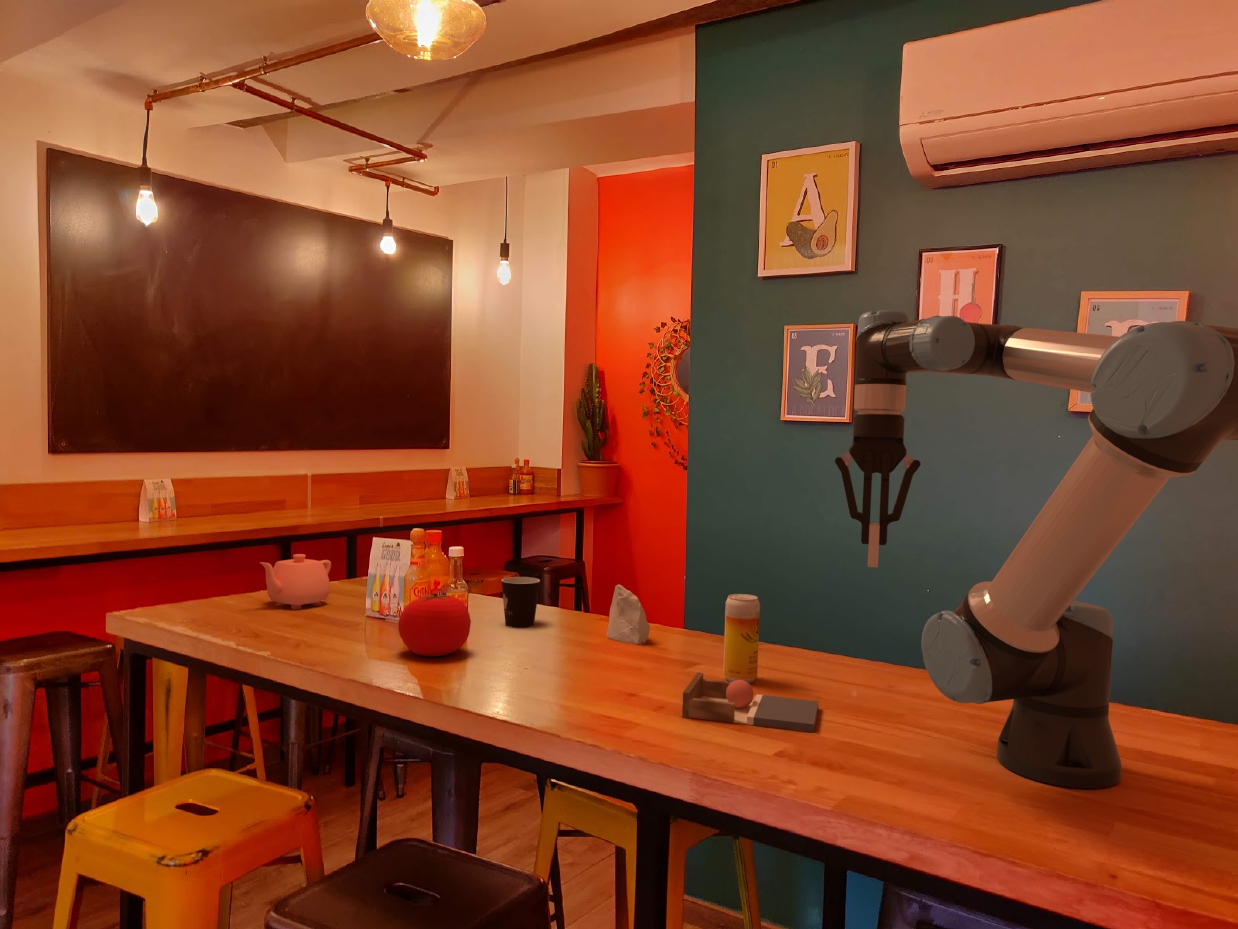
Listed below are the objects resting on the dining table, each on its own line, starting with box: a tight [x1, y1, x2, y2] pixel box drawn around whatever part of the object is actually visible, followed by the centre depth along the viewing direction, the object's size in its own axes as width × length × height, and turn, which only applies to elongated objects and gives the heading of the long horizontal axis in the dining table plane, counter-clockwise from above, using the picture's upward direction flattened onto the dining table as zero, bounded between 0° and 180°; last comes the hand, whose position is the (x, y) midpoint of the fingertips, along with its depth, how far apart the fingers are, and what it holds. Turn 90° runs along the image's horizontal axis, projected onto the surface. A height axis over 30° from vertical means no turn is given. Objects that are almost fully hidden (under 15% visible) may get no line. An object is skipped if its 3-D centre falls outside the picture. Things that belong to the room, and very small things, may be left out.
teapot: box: [258, 553, 332, 610], centre depth 209 cm, size 13×20×12 cm, turn 147°
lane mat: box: [700, 693, 819, 733], centre depth 139 cm, size 20×12×1 cm, turn 74°
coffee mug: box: [501, 576, 541, 629], centre depth 197 cm, size 12×9×10 cm
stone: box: [606, 584, 651, 646], centre depth 185 cm, size 10×5×12 cm, turn 40°
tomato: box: [397, 592, 472, 657], centre depth 169 cm, size 13×14×12 cm
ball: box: [726, 680, 755, 708], centre depth 140 cm, size 4×4×4 cm
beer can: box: [722, 593, 761, 684], centre depth 157 cm, size 6×6×15 cm
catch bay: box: [681, 672, 735, 724], centre depth 140 cm, size 8×12×4 cm, turn 164°
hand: (872, 565), depth 135 cm, fingers closed
